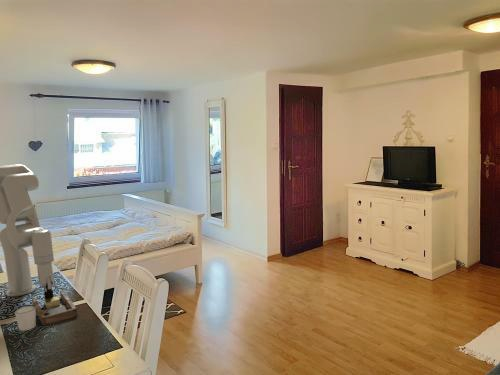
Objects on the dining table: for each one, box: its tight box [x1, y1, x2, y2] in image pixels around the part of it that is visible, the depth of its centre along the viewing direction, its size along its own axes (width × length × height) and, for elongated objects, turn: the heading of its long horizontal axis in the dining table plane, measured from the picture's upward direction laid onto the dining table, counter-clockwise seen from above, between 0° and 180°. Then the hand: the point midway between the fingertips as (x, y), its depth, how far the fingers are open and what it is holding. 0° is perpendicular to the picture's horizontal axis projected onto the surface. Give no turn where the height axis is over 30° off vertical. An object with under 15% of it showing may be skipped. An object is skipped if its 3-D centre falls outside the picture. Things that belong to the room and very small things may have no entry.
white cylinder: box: [14, 305, 37, 332], centre depth 153 cm, size 7×7×7 cm
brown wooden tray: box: [31, 289, 78, 326], centre depth 168 cm, size 26×12×3 cm, turn 36°
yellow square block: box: [43, 296, 61, 310], centre depth 172 cm, size 5×5×3 cm
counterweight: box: [47, 305, 67, 315], centre depth 161 cm, size 6×6×3 cm
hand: (49, 299), depth 175 cm, fingers closed
